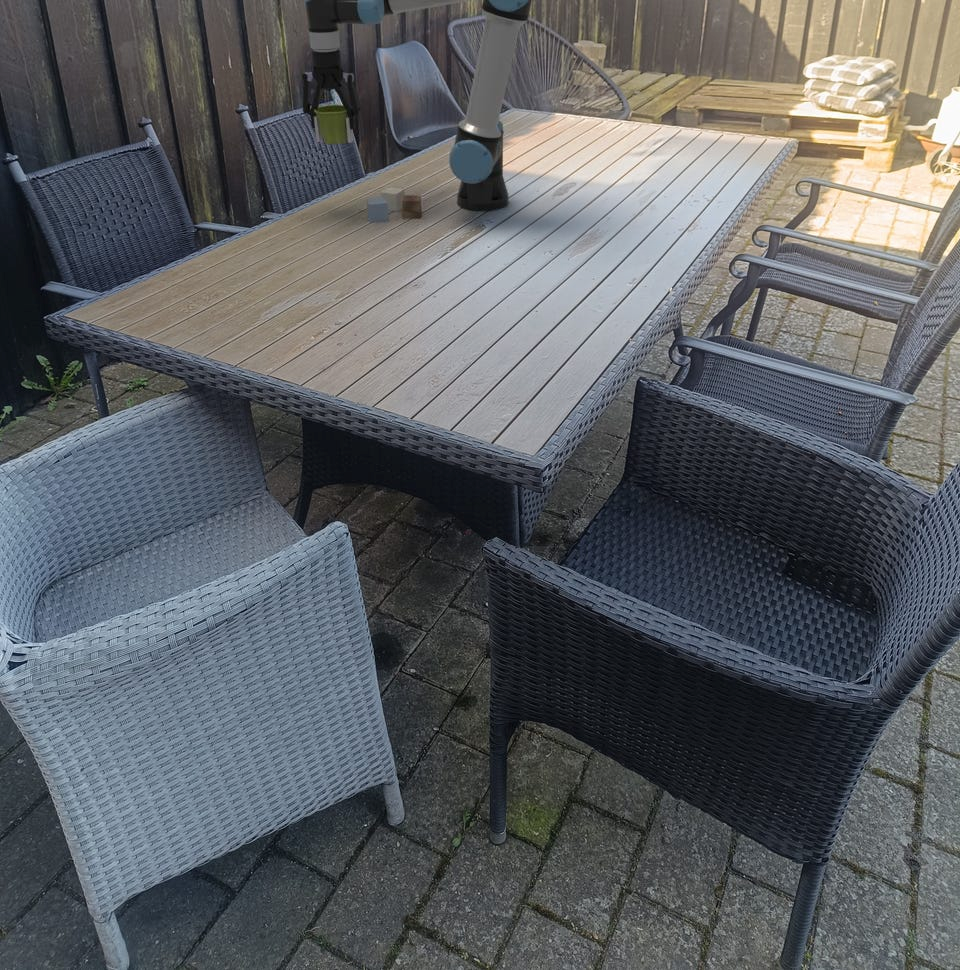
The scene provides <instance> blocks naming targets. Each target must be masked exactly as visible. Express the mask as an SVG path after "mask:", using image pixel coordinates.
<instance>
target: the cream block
mask: <svg viewBox="0 0 960 970" xmlns="http://www.w3.org/2000/svg"><path fill="white" fill-rule="evenodd" d="M403 196H406V194H405V189H404V188H403V189H402V188H395V187H388V188H385V189H383V190H382V191H380V198H384V199H385V200H386V202H387V206H388V211H390V212H399V211H400V210H403V208H402V199H403Z"/></svg>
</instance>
